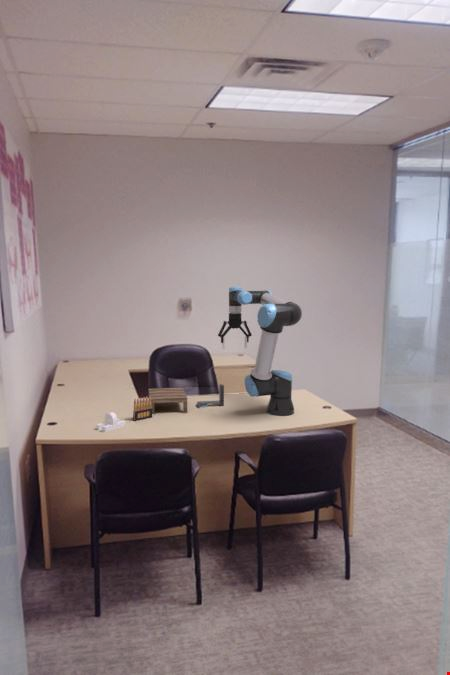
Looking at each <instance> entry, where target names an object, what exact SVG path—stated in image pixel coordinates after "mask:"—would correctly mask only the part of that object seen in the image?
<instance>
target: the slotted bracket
mask: <svg viewBox="0 0 450 675" xmlns="http://www.w3.org/2000/svg"><path fill="white" fill-rule="evenodd" d="M123 426H124V427H126V421H125V420H120V419H119V418H118V417H117V414H116V413H115V412H112V411H111V412H108V413H106V414H105V416H104V421H103V422H101V423H97V424H96V430H97V431H103V433H107V431H108V432H110V430H111V431H113V429H114V430H118V429H120V427H121V428H123ZM117 428H118V429H117Z"/></svg>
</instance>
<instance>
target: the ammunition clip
mask: <svg viewBox="0 0 450 675" xmlns="http://www.w3.org/2000/svg"><path fill="white" fill-rule="evenodd" d="M147 418H148V419H151V418H153V415H152V408H151V397H150V396H149V395H148V396H146V397H145V396H143V398H142V397H140V398H139V397H138V398H137V399H136V398H134V399H133V411H132V419H133V421H134V422H138V421H143V420H148V419H147Z"/></svg>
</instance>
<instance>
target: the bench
mask: <svg viewBox="0 0 450 675" xmlns="http://www.w3.org/2000/svg"><path fill="white" fill-rule="evenodd" d="M149 396H150V397H151V408H152V414H153V415H155V404H157V403H161V404H162V403H163V404H164V403H178V402H179V403H182V404H183V406H182V408H183V409H182V412H183V414H187V413H188V397H187V395H186V392H185V390H184V388H183V387H161V388H158V387H157V388H148V397H149Z"/></svg>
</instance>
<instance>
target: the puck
mask: <svg viewBox="0 0 450 675" xmlns="http://www.w3.org/2000/svg"><path fill="white" fill-rule="evenodd" d="M208 406H209V404H200V408H207V407H208Z"/></svg>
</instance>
